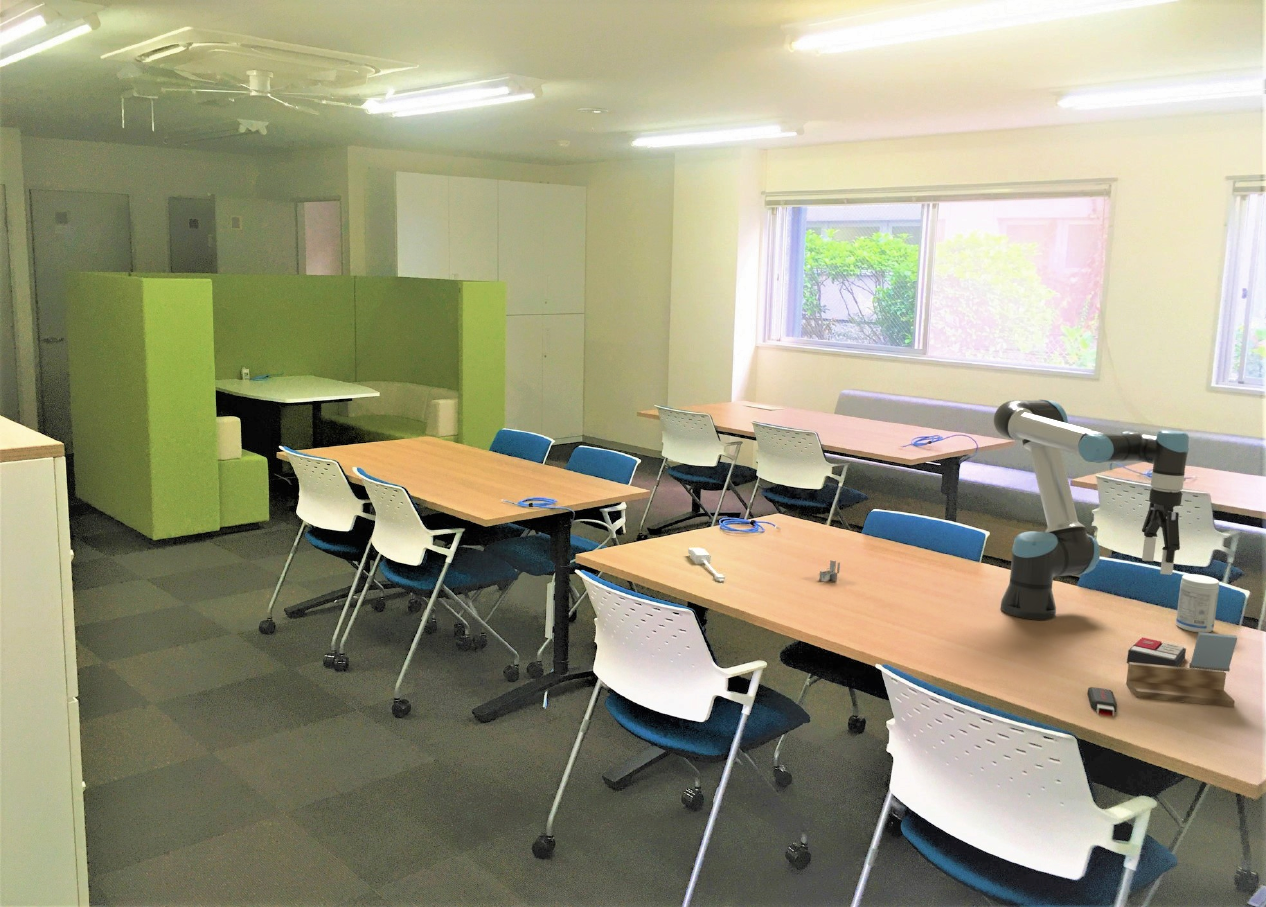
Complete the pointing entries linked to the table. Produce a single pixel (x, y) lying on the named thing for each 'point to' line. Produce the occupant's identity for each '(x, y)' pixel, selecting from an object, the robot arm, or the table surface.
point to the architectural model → (830, 572)
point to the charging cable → (704, 561)
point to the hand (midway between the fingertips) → (1156, 567)
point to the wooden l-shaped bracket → (1178, 684)
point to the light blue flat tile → (1213, 651)
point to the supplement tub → (1197, 603)
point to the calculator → (1156, 653)
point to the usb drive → (1102, 701)
